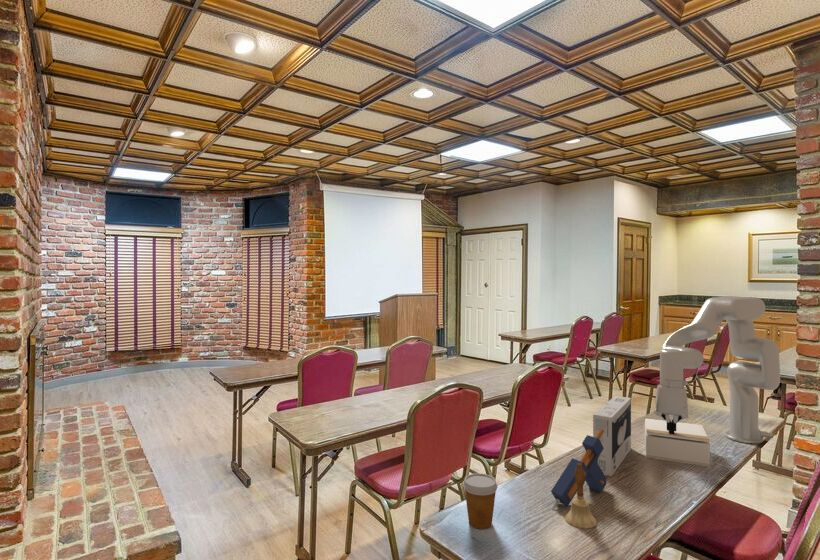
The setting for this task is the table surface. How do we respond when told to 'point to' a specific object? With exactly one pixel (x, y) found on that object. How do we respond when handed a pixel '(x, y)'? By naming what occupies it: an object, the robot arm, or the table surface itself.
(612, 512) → the table surface
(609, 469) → the packaging
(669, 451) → the box
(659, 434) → the lid
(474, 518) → the disposable coffee cup
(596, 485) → the glue gun
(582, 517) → the hand bell
